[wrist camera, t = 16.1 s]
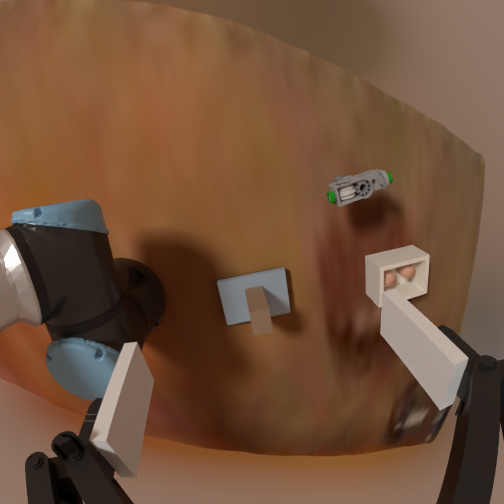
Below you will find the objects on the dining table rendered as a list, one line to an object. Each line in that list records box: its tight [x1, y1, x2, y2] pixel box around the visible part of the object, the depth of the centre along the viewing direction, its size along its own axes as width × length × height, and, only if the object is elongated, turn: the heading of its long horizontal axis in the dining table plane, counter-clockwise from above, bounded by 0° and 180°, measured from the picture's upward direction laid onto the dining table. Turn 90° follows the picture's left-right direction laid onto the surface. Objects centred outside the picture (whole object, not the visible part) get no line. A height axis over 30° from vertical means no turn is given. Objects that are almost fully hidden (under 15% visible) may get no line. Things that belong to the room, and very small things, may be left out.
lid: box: [217, 267, 290, 336], centre depth 51 cm, size 12×9×10 cm
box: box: [365, 245, 429, 308], centre depth 54 cm, size 11×8×6 cm
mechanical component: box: [327, 169, 393, 207], centre depth 46 cm, size 3×10×10 cm, turn 109°
